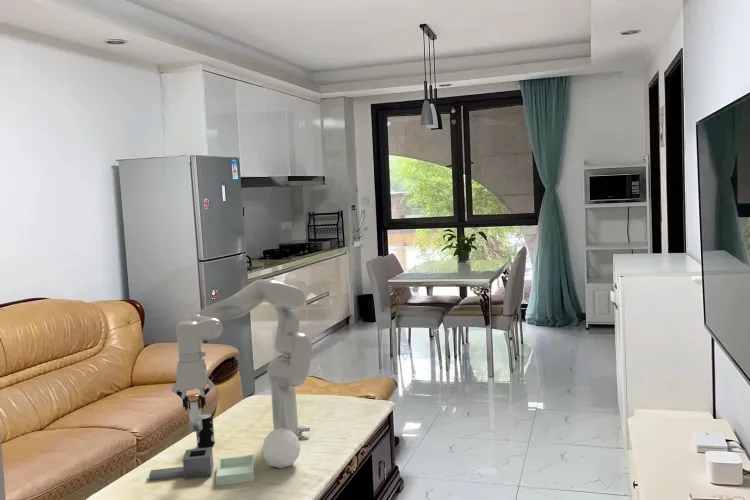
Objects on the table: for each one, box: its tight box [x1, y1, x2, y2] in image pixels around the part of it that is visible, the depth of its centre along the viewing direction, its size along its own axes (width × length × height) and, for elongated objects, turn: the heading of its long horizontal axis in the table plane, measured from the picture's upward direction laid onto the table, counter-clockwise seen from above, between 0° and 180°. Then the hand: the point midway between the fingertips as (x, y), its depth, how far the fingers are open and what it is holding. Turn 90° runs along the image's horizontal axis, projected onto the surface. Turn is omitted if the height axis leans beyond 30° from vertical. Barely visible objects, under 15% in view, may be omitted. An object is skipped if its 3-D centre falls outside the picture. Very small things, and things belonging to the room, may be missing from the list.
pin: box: [186, 393, 202, 433], centre depth 230 cm, size 5×5×12 cm
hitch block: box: [148, 446, 214, 481], centre depth 231 cm, size 21×9×7 cm, turn 99°
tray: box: [215, 454, 255, 487], centre depth 229 cm, size 15×12×3 cm
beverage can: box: [195, 413, 216, 449], centre depth 256 cm, size 7×7×12 cm
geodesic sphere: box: [262, 426, 302, 469], centre depth 234 cm, size 14×14×14 cm
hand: (194, 407), depth 230 cm, fingers closed on pin, 4 cm apart
